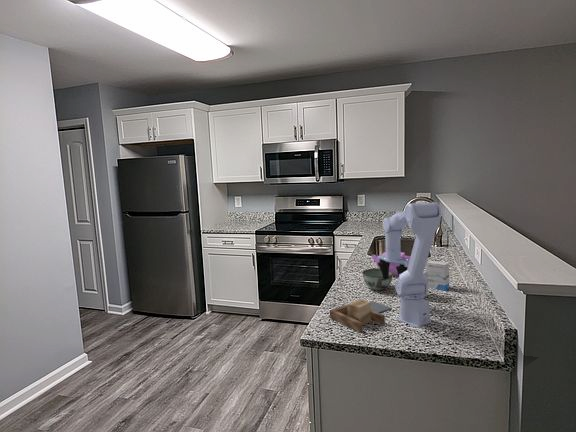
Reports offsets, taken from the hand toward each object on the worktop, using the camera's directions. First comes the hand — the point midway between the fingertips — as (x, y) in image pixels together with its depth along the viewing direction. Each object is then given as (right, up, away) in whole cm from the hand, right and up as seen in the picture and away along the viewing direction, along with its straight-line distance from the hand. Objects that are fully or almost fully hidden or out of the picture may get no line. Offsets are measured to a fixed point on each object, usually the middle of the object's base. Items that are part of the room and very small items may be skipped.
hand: (393, 281), depth 143 cm
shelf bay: (-17, -12, -14) cm, 25 cm away
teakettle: (+13, -4, +45) cm, 47 cm away
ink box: (+25, -7, +18) cm, 32 cm away
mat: (-9, -10, -3) cm, 14 cm away
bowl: (-1, -8, +20) cm, 21 cm away
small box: (+13, -8, +9) cm, 18 cm away
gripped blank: (-16, -12, -15) cm, 25 cm away
